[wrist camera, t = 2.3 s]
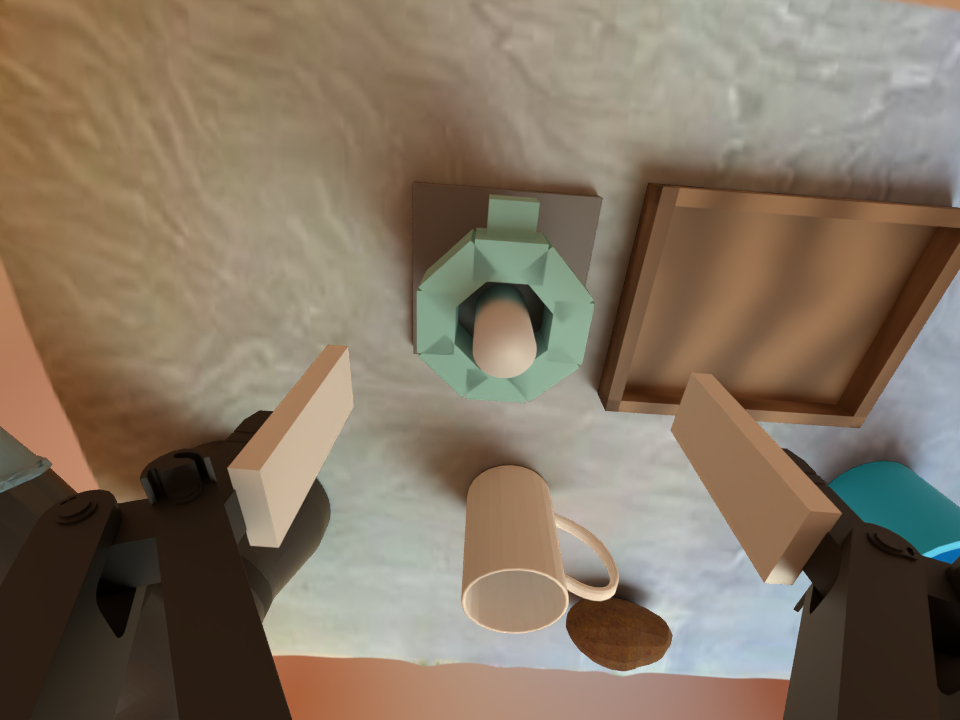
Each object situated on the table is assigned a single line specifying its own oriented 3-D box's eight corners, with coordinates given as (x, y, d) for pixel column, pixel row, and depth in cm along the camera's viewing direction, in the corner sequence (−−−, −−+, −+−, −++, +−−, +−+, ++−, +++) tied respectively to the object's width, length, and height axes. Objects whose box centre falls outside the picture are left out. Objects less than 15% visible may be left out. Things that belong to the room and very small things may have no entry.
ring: (424, 370, 26) (417, 395, 23) (425, 189, 21) (416, 195, 18) (564, 379, 26) (573, 406, 24) (598, 202, 21) (614, 211, 19)
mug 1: (466, 522, 41) (460, 632, 32) (467, 461, 37) (461, 566, 28) (587, 525, 41) (616, 637, 32) (600, 466, 37) (638, 572, 28)
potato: (648, 622, 49) (671, 691, 42) (553, 613, 48) (562, 682, 42) (667, 587, 46) (695, 657, 39) (565, 577, 45) (578, 646, 39)
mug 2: (855, 452, 36) (947, 529, 29) (934, 470, 37) (1042, 549, 30) (777, 541, 42) (838, 624, 34) (848, 555, 42) (922, 639, 35)
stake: (415, 348, 32) (381, 442, 22) (414, 181, 26) (369, 205, 16) (567, 358, 32) (604, 457, 22) (598, 196, 27) (667, 228, 16)
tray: (597, 393, 34) (605, 410, 31) (648, 183, 26) (663, 186, 24) (835, 409, 34) (859, 428, 32) (952, 206, 27) (994, 212, 24)
